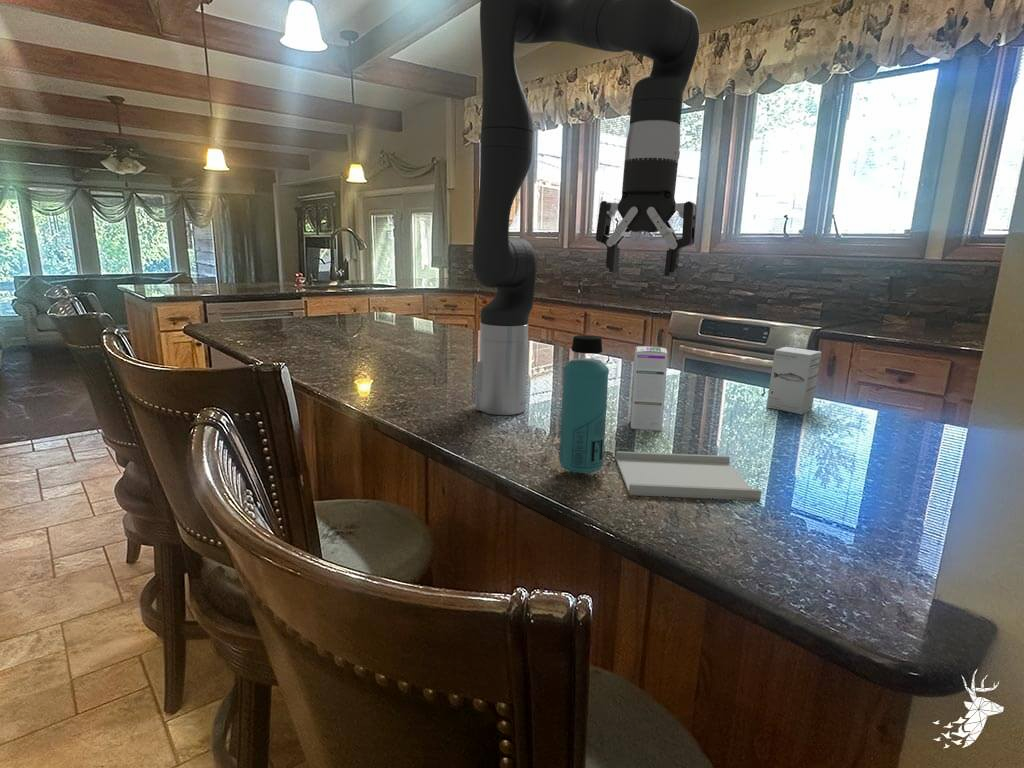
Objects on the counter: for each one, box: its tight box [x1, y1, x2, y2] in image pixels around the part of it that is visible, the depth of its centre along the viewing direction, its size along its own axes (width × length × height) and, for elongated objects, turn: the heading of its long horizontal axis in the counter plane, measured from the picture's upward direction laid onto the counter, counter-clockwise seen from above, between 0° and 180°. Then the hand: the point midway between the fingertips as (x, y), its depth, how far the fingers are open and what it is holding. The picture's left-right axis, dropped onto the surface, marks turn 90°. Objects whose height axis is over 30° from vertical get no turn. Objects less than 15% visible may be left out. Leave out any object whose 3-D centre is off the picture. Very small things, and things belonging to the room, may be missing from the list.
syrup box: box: [630, 345, 668, 432], centre depth 104 cm, size 6×6×14 cm
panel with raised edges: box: [615, 450, 762, 502], centre depth 81 cm, size 17×13×1 cm
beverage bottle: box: [557, 334, 610, 474], centre depth 79 cm, size 6×7×20 cm
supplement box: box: [766, 346, 823, 416], centre depth 119 cm, size 7×7×13 cm
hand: (640, 274), depth 86 cm, fingers open, 8 cm apart
